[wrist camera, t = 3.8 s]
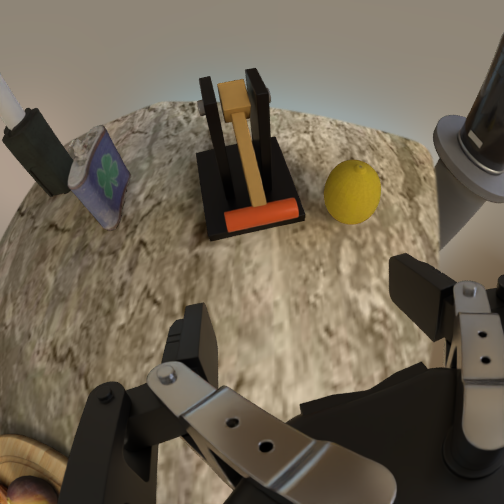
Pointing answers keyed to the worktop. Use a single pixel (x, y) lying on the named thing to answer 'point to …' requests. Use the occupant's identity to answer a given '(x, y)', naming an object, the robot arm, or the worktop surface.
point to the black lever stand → (230, 166)
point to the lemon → (352, 192)
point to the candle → (34, 144)
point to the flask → (99, 177)
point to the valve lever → (249, 165)
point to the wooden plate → (29, 471)
